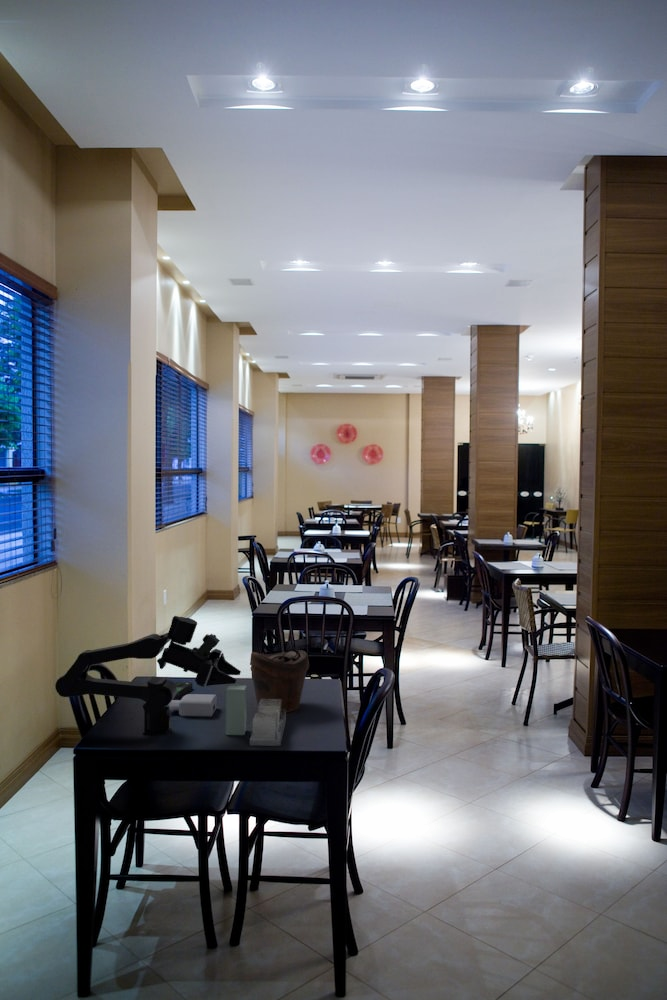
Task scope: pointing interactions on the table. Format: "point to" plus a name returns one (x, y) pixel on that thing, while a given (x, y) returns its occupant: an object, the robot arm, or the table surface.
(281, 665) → the brown flower pot
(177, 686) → the disk drive
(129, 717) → the table surface
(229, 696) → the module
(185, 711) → the charger
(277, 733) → the rail
